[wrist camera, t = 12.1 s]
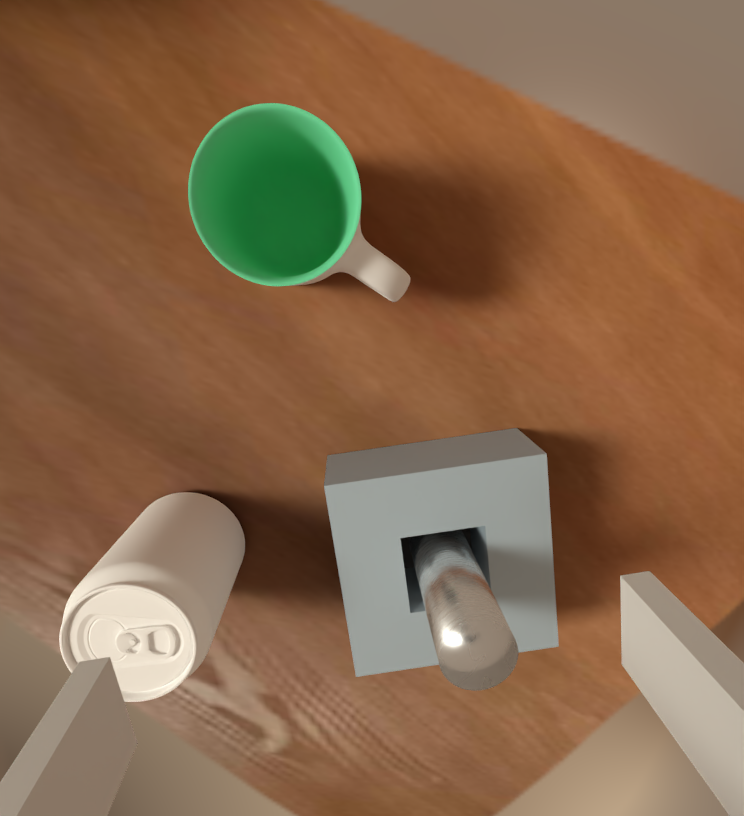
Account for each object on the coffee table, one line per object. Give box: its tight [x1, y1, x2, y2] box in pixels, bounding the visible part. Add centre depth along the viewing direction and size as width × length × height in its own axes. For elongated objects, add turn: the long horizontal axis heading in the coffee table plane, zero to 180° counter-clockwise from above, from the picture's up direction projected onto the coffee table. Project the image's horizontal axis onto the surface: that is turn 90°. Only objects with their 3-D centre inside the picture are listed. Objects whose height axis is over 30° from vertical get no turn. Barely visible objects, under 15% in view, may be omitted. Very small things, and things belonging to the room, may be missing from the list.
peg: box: [407, 529, 518, 690], centre depth 33 cm, size 4×4×14 cm
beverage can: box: [59, 492, 245, 702], centre depth 34 cm, size 8×8×12 cm
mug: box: [188, 103, 410, 302], centre depth 30 cm, size 12×8×10 cm, turn 60°
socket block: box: [324, 428, 559, 677], centre depth 38 cm, size 14×14×6 cm
